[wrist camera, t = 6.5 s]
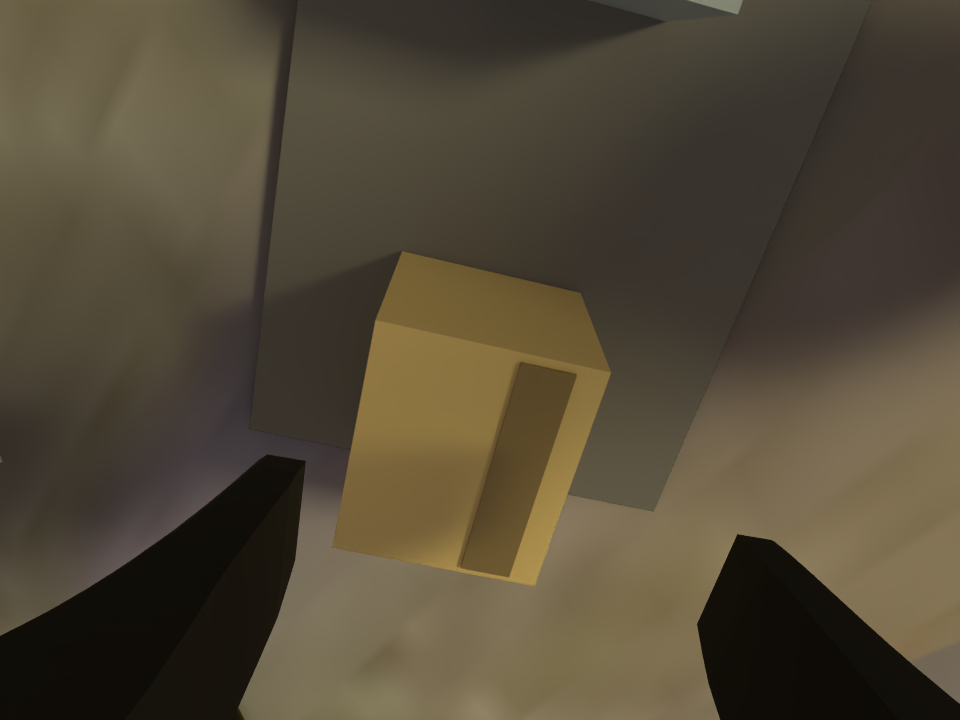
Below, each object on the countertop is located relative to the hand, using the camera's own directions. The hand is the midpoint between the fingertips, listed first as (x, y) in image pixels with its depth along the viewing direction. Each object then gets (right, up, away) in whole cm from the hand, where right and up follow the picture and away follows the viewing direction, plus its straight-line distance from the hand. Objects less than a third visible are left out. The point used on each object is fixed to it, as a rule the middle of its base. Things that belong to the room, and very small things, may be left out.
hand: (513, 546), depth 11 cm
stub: (-1, +3, +9) cm, 9 cm away
